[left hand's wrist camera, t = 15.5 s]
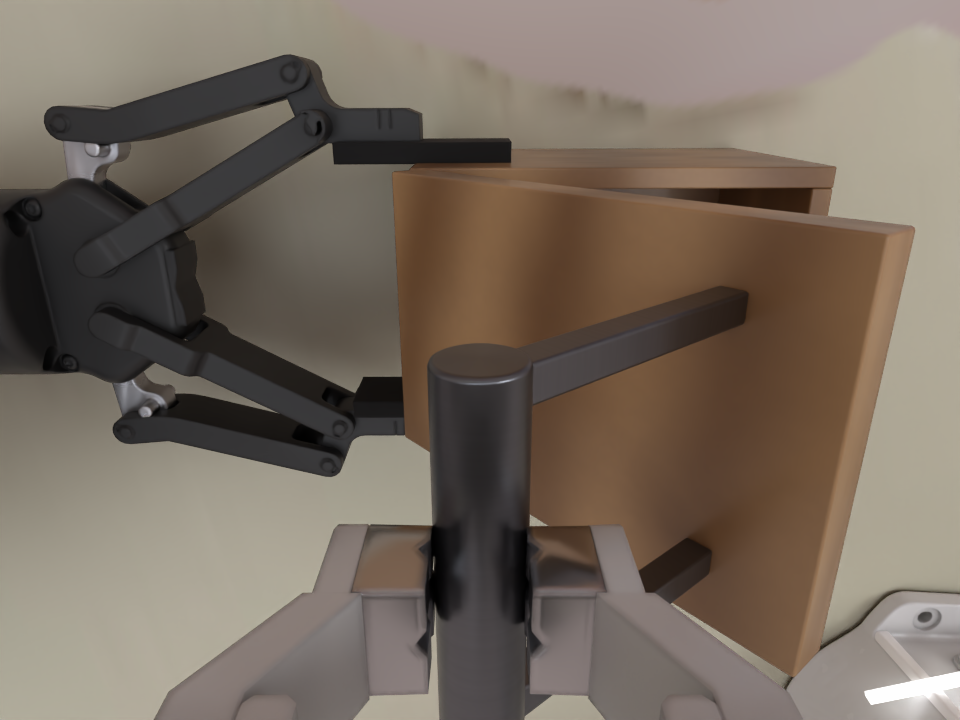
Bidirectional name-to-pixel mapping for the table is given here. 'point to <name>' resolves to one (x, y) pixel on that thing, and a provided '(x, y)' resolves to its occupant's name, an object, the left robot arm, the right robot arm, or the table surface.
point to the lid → (635, 403)
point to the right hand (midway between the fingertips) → (508, 281)
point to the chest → (671, 175)
